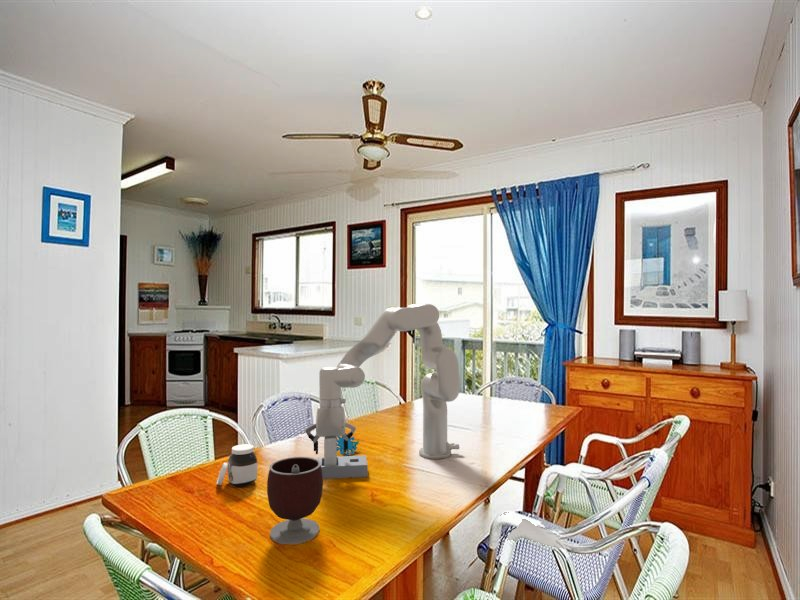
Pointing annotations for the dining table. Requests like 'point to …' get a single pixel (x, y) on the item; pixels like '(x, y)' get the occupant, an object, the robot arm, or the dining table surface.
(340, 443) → the gear
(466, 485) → the dining table surface
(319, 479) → the mate gourd
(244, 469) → the spread jar
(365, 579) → the dining table surface
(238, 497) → the dining table surface
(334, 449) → the skincare box
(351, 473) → the stand
